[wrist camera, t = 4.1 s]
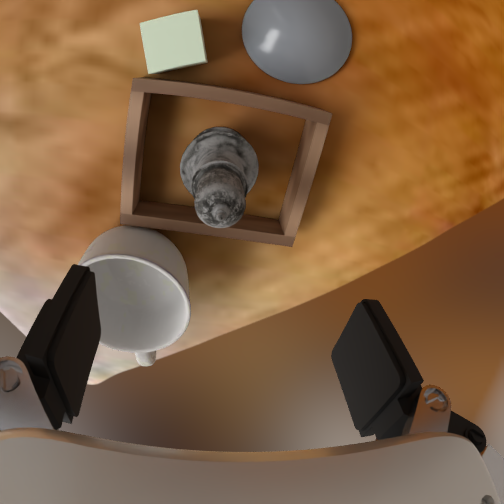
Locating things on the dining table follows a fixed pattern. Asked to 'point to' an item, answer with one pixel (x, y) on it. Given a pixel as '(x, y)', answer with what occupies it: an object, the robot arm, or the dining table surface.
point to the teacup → (139, 290)
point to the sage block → (173, 42)
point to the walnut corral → (186, 216)
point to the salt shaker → (219, 175)
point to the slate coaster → (297, 38)
